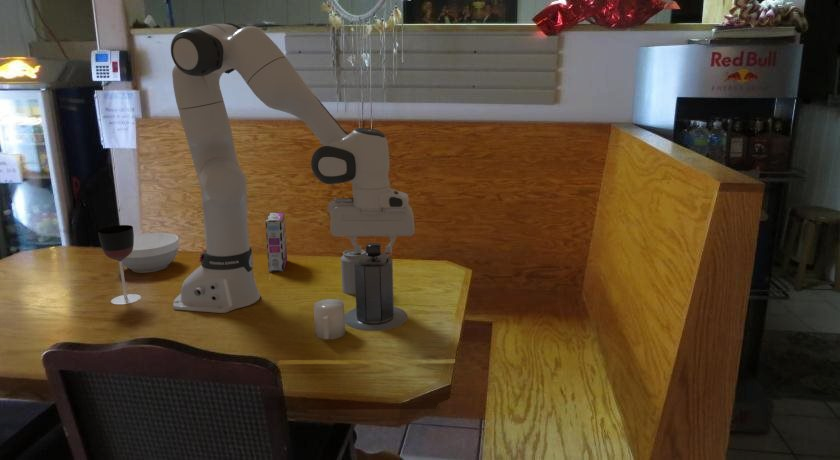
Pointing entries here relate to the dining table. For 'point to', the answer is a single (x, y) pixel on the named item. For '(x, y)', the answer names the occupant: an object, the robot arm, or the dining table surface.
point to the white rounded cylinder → (329, 319)
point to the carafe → (374, 289)
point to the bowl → (152, 252)
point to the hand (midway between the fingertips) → (373, 253)
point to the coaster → (352, 321)
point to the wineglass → (119, 253)
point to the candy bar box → (276, 242)
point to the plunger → (373, 250)
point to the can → (349, 271)
